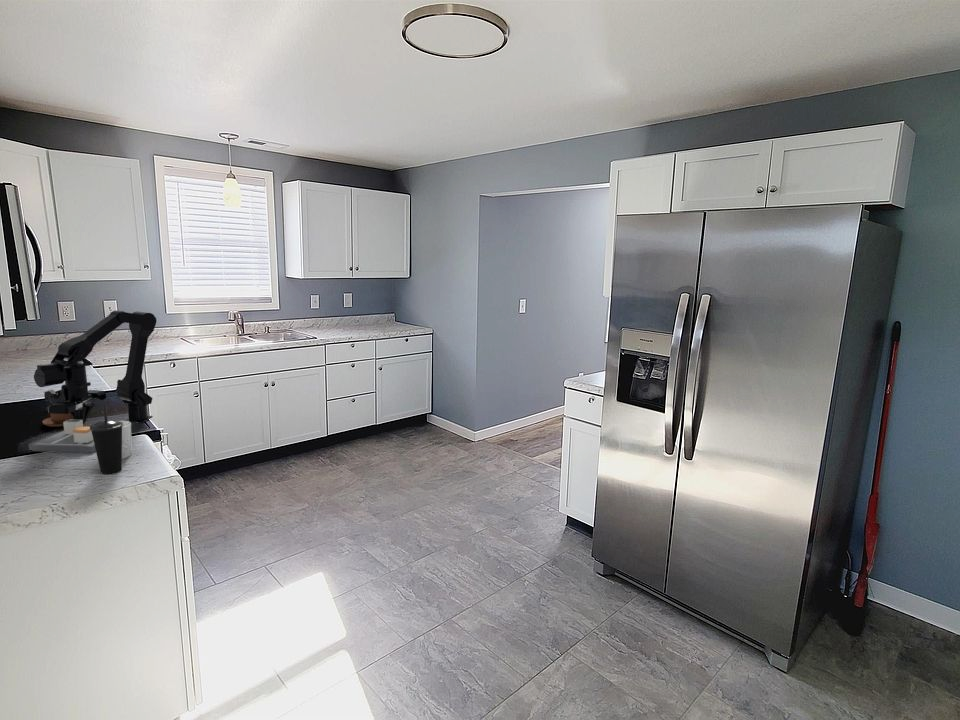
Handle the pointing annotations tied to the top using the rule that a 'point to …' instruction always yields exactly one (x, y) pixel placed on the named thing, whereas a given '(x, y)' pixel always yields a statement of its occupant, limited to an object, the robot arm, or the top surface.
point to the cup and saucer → (57, 420)
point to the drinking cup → (108, 444)
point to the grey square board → (63, 444)
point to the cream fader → (72, 425)
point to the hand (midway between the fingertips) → (81, 426)
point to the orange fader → (82, 435)
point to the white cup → (126, 439)
